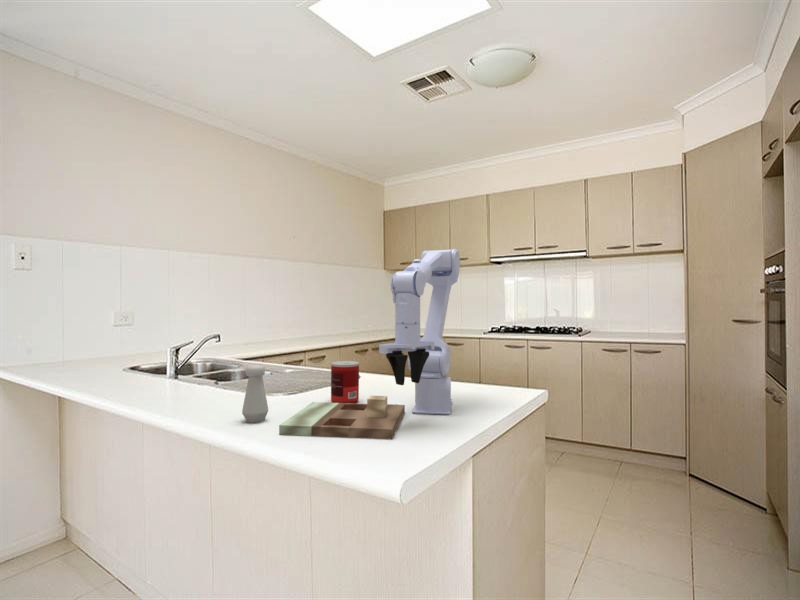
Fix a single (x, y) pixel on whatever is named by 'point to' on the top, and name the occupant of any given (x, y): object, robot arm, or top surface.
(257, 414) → the salt shaker
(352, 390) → the canned food
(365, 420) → the trap deck
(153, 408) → the top surface
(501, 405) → the top surface
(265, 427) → the top surface
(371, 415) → the maple block
